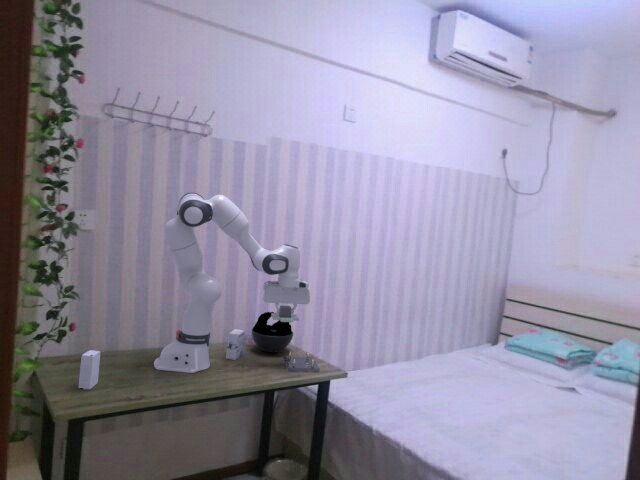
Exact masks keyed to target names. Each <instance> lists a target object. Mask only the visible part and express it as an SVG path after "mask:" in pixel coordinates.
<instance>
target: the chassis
mask: <svg viewBox="0 0 640 480" xmlns="http://www.w3.org/2000/svg"><path fill="white" fill-rule="evenodd" d="M282 361H283V364H284V366H285V368H286V370H287V372H303V373H304V372H307V373H320V371H321V368H320V367H319V366H318V363H316V361H315V359H314V358H313V357H310V352H307V353H306V356H304V357H303V356H292V351H289V352H288V356H282Z"/></svg>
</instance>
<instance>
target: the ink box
mask: <svg viewBox="0 0 640 480" xmlns="http://www.w3.org/2000/svg"><path fill="white" fill-rule="evenodd" d="M245 332H246V331H245V330H243V329H238V328H234V329H233V330H232V331H230V332H229V333H228V337H227V345H226V352H225V359H227V360H231V361H232V360H233V361H236V360H237V359H239V358H240V357H241V356H243V347H244V339H245Z"/></svg>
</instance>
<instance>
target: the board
mask: <svg viewBox="0 0 640 480" xmlns="http://www.w3.org/2000/svg"><path fill="white" fill-rule="evenodd" d="M292 308H293V307H291V305H280V304H279V309H281V311H280V312H281V313H277V312H274V313H271V316H272V317H271V318H272V320H273V321H274V320H276V321H279V320H280V321H281V322H290V323H294V322H295V321H298V322H299V319H300V317H299V316H298V315H297V314H296V313H294V314H291V309H292Z"/></svg>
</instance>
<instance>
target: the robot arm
mask: <svg viewBox="0 0 640 480" xmlns="http://www.w3.org/2000/svg"><path fill="white" fill-rule="evenodd" d="M211 221H212V222H213V223H214V224H215V225H216V226H217V227H218V228H219V229H220V230H221V231H222V232H223V233H224V234H225V235H227V237H229V238H231V239H232V240H234V242H235V241H236V242H237V243H238V245H240V246H241V248H242V249H243V250H244V251H245V252H246V253H247V255H248V256H249V258H250V261H251V264H252V266H253V267H254V269H256V270H257V271H259V272H262V273H264V274H267V275H269V276H274V275H278V276H277V277H278V278H277V281H275V280H273V281H271V280H267V281H266V282H264V284H263V290H264V291H263V296H262V301H263V302H264V303H265V304H266V303H268V304H274V306H275V307H276V313H281V312H280V311H281V309H280V307H278V306H280V304H290V305H291V304H292V305H293V307H291V308H292V309H291V314H295V310H296V308H297V307H298V305H308V304H309V303H310V301H311V293H310V289H308V288H309V283H308V281H306V280H303V279H301V278H299V277H300V275H299V274H300V273H299V269H300V266H301V252H300V251H301V250H300V248H298V247H296V246H294V245H291V244H286V243H284V244H283V245H281V246H280V247H278V248H276V249H273V250H269V249H267V248H265V247H263V246H262V245H260V244H259V243H258V242H257V240H256V239H255V238H254V237H253V236H252V234H251V233H250V230H249V229H250V221H249V220H248V218H247V216H246V214H244V213H243V211H242V210H241V209H240V208H239V207H238V206H237V204H235V203H234V202H233V201H232V200H231V199H230V198H228V197H227V196H226V195H224V194H215V195H213V196H212V197H211V198H209V199H205V198H204V197H203V196H202V195H201V194H199V193H197V192H187V193H184V195H183V196H181V197H180V199H179V201H178V205H177V211H176V216H175V217H174V218H171V219H170V220H168V221H167V222H166V223H165V225H164V233H165V237H166V238H165V239H166V241H167V245H168V248H169V250H170V252H171V255H172V258H173V260H174V263H175V265H176V268H177V272H178V273H177V274H178V278H179V279H178V280H179V281H178V283H179V288H180V289H181V290H182V291H183V293H184V294H185V295H187V296H188V297H189V298H190V300H189V303H188V307H187V308H186V310H185V311H184V312H183V317H182V328H181V329H177V330H176V332H175V334H176V337H175V340H173V341H172V342H171V343H169V344H167V345H166V346H164V348H163V349H162V351H161V353H160V356H159V357H157V358H156V359H155V360H154V362H153V367H154V369H155V370H158V371H166V372H167V371H169V372H178V373H190V374H194V373H197V372H199V371H204V370H206V369H208V368H210V367H211V364H210V359H209V358H210V357H209V346H210V341H211V332H210V328H211V320H212V319H211V318H212V313H213V310H214V307H215V305H216V302H218V301H219V299H220V298H221V297H222V294H223V287H222V284H221V283H220V282H219V281H218V280H217V279H216V278H215V277H213V276H211V275H208V274H207V273H206V271H205V269H204V263H203V260H204V255H203V252H202V249H201V247H200V244H199V242H198V239H197V237H196V234H195V231H194V228H196V227H200V226H201V225H203V224H206V223H209V222H211Z"/></svg>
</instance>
